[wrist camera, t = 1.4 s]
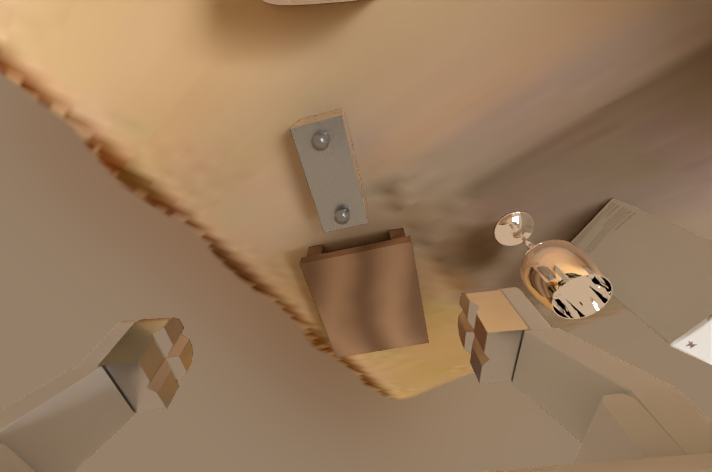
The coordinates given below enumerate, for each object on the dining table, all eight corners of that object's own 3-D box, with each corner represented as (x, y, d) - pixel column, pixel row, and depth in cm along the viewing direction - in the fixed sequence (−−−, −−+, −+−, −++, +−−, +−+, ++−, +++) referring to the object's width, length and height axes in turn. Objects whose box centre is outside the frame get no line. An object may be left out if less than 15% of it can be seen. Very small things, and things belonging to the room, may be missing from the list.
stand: (405, 224, 35) (411, 241, 31) (422, 319, 42) (428, 342, 38) (305, 245, 36) (299, 264, 33) (338, 334, 43) (336, 357, 40)
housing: (343, 108, 29) (341, 116, 24) (366, 203, 34) (368, 226, 29) (299, 119, 30) (288, 130, 24) (328, 211, 34) (323, 236, 29)
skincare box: (592, 269, 38) (716, 375, 25) (556, 250, 36) (667, 351, 23) (651, 215, 34) (832, 304, 21) (613, 191, 33) (783, 272, 20)
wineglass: (498, 203, 34) (563, 264, 23) (548, 208, 34) (635, 271, 23) (481, 247, 36) (533, 321, 26) (528, 252, 37) (597, 326, 26)
